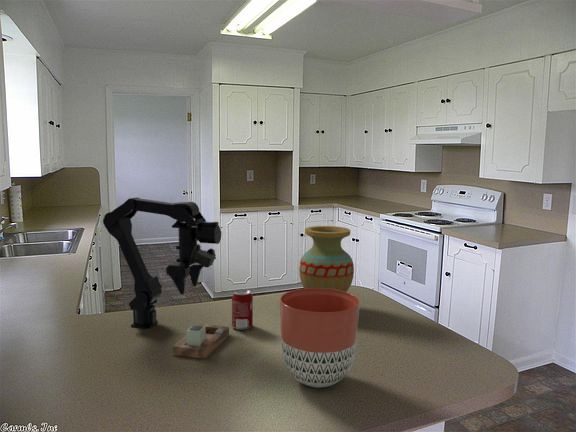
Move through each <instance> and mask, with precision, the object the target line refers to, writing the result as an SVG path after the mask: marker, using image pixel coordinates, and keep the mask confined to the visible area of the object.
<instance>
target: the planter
mask: <svg viewBox="0 0 576 432" xmlns="http://www.w3.org/2000/svg"><path fill="white" fill-rule="evenodd" d="M360 305H361V302H360V299H359V298H358V297H357V296H356V295H354V294H353V293H350V292H348V291H347V292H344V291H340V290H335V289H328V288H304V287H303V288H298V289H294V290H290V291H287V292H285V293H282V295H281V296H280V297H279V311H280V312H279V313H280V314H279V315H280V333H281V334H280V335H281V350H282V351H281V352H282V356H283V360H284V363H285V366H286V368H287V370H288V372H289V373H290V374H291V375H292V377H294V378H295V379H296V380H297V381H298V382H299V383H301V384H303V385H305V386H307V387H311V388H318V389H321V388H328V387H331V386H333V385H336V384H338V383H339V382H341V380H343V379H344V378H345V377H346V376H347V374H348V373H349V371H350V370H351V368H352V365H353V363H354V359H355V356H356V350H357V349H356V347H357V346H356V345H357V337H358V327H359V319H360V318H359V316H360Z"/></svg>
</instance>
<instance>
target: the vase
mask: <svg viewBox="0 0 576 432" xmlns="http://www.w3.org/2000/svg"><path fill="white" fill-rule="evenodd" d="M304 234H305V235H306V236H308V237H310V238H311V239H312V241H313V242H312V247H311V248H310V249H308V250H307V251H305V252H304V254H302V256H301V258H300V262H299V267H298V270H299V272H298V275H299V280H300V284H301V286H302V287H303V289H304V288H328V289H335V290H340V291H344V292H348V291H349V289H350V287H351V285H352V283H353V279H354V274H355V264H354V262H353V258H352V257H351V255H350V254H349V253H348V252H346V251H345V250H344V248H342V240H343V239H345V238H346V237H349V236H350V235H351V229H349V228H347V227H343V226H334V225H333V226H332V225H315V226H307V227H305V228H304Z"/></svg>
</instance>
